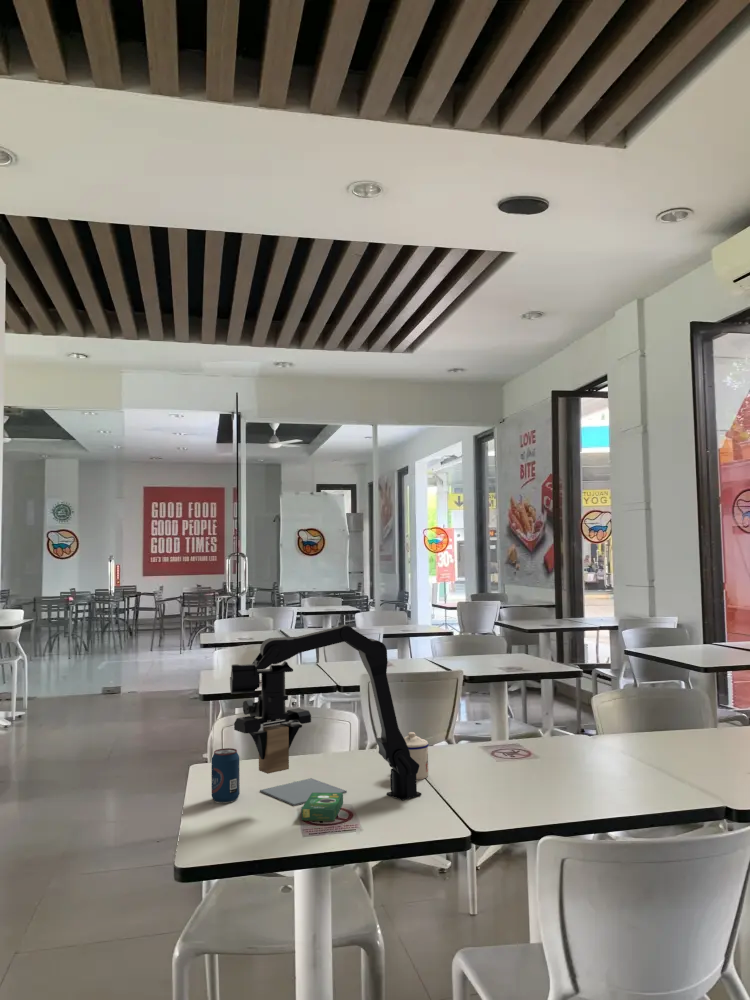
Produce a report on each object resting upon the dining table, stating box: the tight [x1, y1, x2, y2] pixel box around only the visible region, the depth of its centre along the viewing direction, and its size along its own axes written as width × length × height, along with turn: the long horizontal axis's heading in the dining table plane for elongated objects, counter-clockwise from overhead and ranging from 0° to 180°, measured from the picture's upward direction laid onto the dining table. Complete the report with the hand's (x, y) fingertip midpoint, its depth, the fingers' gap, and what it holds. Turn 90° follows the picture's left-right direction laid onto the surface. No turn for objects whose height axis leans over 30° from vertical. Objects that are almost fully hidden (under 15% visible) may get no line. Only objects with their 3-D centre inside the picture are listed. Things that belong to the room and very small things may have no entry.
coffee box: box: [300, 793, 344, 822], centre depth 184 cm, size 8×3×13 cm
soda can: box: [211, 747, 241, 804], centre depth 195 cm, size 7×7×12 cm
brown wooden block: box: [258, 723, 290, 775], centre depth 187 cm, size 4×6×10 cm, turn 129°
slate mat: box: [259, 777, 348, 807], centre depth 200 cm, size 16×16×1 cm
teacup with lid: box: [403, 731, 429, 781], centre depth 215 cm, size 12×9×12 cm
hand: (273, 756), depth 187 cm, fingers closed on brown wooden block, 6 cm apart
